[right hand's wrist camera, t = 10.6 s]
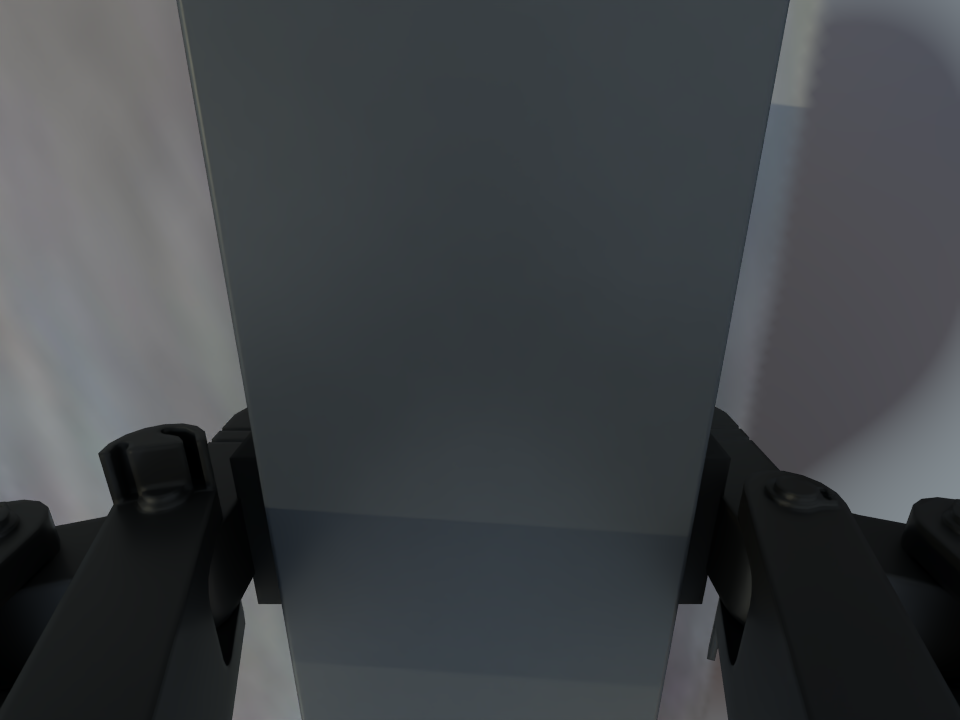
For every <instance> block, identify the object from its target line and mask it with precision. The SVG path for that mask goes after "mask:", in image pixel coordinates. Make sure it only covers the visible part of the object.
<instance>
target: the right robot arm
mask: <svg viewBox="0 0 960 720" xmlns="http://www.w3.org/2000/svg"><path fill="white" fill-rule="evenodd" d="M738 427H739V426H738V425H737V424H736V423H735V422H734V421H733V420H732V419H731V417H730V416H729V415H728V414H727V413H726V412H724V411H722V410H720V409H718V408H717V407H715V408H714V414H713V419H712V424H711V430H710V435H709V441H708V446H707V451H706V457H705V462H704V468H703V473H702V479H701V484H700V489H699V495H698V500H697V506H696V511H695V517H694V522H693V527H692V533H691V538H690V544H689V549H688V555H687V560H686V565H685V571H684V576H683V582H682V587H681V593H680V598H679V603H678V604H702V601H703V596H704V591H705V586H706V581H707V576H709V578H710V580H711V582H712V584H713V585H714V587H715V589H716V591H717V593H718V595H719V602H718V607H717V611H716V616H715V620H714V625H713V630H712V634H711V639H710V644H709V649H708V656H707V659H709V660H713V661H715V657H716V652H717V649H719V656H720V663H721V671H722V678H723V685H724V692H725V699H726V706H727V714H728V720H960V499H947V498H940V497H935V498H925V499H921V500H919V501H918V502H917V503H915V504H914V505H913V507H912V510H911V512H910V515H909V518H908V521H907V523H906V524H904V523H899V522H893V521H888V520H883V519H877V518H872V517H867V516H861V515H857V514H853V513H851V511H850V509H849V507H848V506H847V504H846V503H845V502H844V500H843V499H842V498H841V497H840V496H839V495H838V494H837V493H836V492H835V491H833V490H832V489H830V488H828V487H827V486H825V485H824V484H822V483H820V482H818V481H815V480H813V479H811V478H808V477H806V476H803V475H799V474H795V473H790V472H786V471H780V470H779V469H778V468H777V467H776V466H775V465H774V464H773V463H772V462H771V461H770V459H769V458H768V457H767V456H766V455H765V454H764V453H763V452H762V451H761V450H760V449H759V448H758V446H757V445H756V444H755V443H754V442H753V441H752V440H749V437H748V436H747V435H746V434H745V433H744V431H743V430H742V429H739V428H738ZM98 454H99V458H100V461H101V464H102V467H103V471H104V474H105V477H106V481H107V484H108V487H109V490H110V494H111V497H112V500H113V504H114V505H113V507H112V508H111V510H110V512H109V514H108V516H106V517H102V518H96V519H91V520H86V521H80V522H75V523H70V524H65V525H59V526H55V525H54V522H53V519H52V516H51V513H50V511H49V508H48V507H47V506H46V505H44V504H43V503H41V502H40V501H31V500H18V501H10V502H0V720H232V715H233V708H234V701H235V694H236V687H237V679H238V672H239V665H240V658H241V650H242V643H243V636H244V629H245V618H244V611H243V607H242V602H241V599H242V597H243V595H244V593H245V591H246V589H247V587H248V585H249V584H250V582H251V580H252V578H253V579H254V584H255V589H256V594H257V599H258V604H282V603H281V597H280V591H279V586H278V580H277V574H276V569H275V563H274V557H273V551H272V546H271V540H270V534H269V528H268V523H267V517H266V511H265V505H264V500H263V494H262V488H261V482H260V477H259V471H258V465H257V460H256V454H255V448H254V442H253V437H252V431H251V425H250V419H249V414H248V408H246V409H244V410H242V411H240V412H238V413H237V414H235V415H234V416H233V417H232V418H231V419H230V420H229V421H228V422H227V424H226V425H225V426H224V427H223V428H222V431H219V432H218V433H217V434H216V435H215V437H214V438H213V439H212V442H209V443H208V444H207V439H206V435H205V431H203V430H202V429H200V428H199V427H198V426H194V425H188V424H164V425H159V426H154V427H148V428H144V429H141V430H138V431H135V432H132V433H129V434H127V435H124V436H122V437H120V438H119V439H117V440H115V441H113V442H111V443H109V444H108V445H107V446H106V447H105V448H104V449H103V450H102V451H100V452H99V453H98Z"/></svg>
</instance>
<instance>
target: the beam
mask: <svg viewBox="0 0 960 720" xmlns="http://www.w3.org/2000/svg"><path fill="white" fill-rule="evenodd" d="M176 1H177V6H178V12H179V18H180V24H181V29H182V35H183V41H184V47H185V52H186V58H187V64H188V70H189V75H190V81H191V87H192V92H193V98H194V104H195V110H196V115H197V121H198V127H199V133H200V138H201V144H202V150H203V156H204V161H205V167H206V173H207V179H208V184H209V190H210V196H211V201H212V207H213V213H214V219H215V224H216V230H217V236H218V242H219V247H220V253H221V259H222V265H223V270H224V276H225V282H226V287H227V293H228V299H229V305H230V310H231V316H232V322H233V328H234V333H235V339H236V345H237V351H238V356H239V362H240V368H241V374H242V379H243V385H244V391H245V396H246V402H247V408H248V414H249V419H250V425H251V431H252V437H253V442H254V448H255V454H256V460H257V465H258V471H259V477H260V482H261V488H262V494H263V500H264V505H265V511H266V517H267V523H268V528H269V534H270V540H271V546H272V551H273V557H274V563H275V569H276V574H277V580H278V586H279V591H280V597H281V603H282V609H283V614H284V620H285V626H286V632H287V637H288V643H289V649H290V655H291V660H292V666H293V672H294V677H295V683H296V689H297V695H298V700H299V706H300V712H301V718H302V720H657V717H658V712H659V706H660V701H661V696H662V690H663V685H664V679H665V674H666V668H667V663H668V658H669V652H670V647H671V641H672V636H673V631H674V625H675V620H676V614H677V609H678V603H679V598H680V593H681V587H682V582H683V576H684V571H685V565H686V560H687V555H688V549H689V544H690V538H691V533H692V527H693V522H694V517H695V511H696V506H697V500H698V495H699V489H700V484H701V479H702V473H703V468H704V462H705V457H706V451H707V446H708V441H709V435H710V430H711V424H712V419H713V414H714V408H715V403H716V397H717V392H718V386H719V381H720V376H721V370H722V365H723V359H724V354H725V348H726V343H727V338H728V332H729V327H730V321H731V316H732V310H733V305H734V300H735V294H736V289H737V283H738V278H739V272H740V267H741V262H742V256H743V251H744V245H745V240H746V234H747V229H748V224H749V218H750V213H751V207H752V202H753V196H754V191H755V186H756V180H757V175H758V169H759V164H760V159H761V153H762V148H763V142H764V137H765V131H766V126H767V121H768V115H769V110H770V104H771V99H772V93H773V88H774V83H775V77H776V72H777V66H778V61H779V55H780V50H781V45H782V39H783V34H784V28H785V23H786V17H787V12H788V7H789V1H790V0H176Z"/></svg>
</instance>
